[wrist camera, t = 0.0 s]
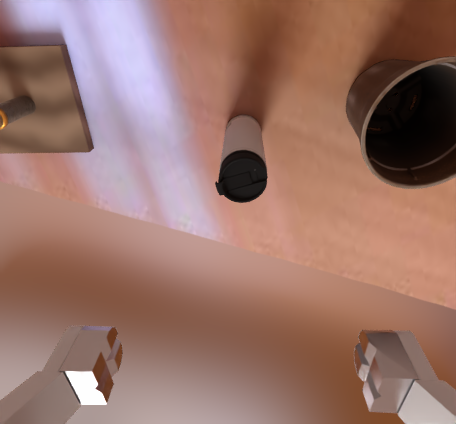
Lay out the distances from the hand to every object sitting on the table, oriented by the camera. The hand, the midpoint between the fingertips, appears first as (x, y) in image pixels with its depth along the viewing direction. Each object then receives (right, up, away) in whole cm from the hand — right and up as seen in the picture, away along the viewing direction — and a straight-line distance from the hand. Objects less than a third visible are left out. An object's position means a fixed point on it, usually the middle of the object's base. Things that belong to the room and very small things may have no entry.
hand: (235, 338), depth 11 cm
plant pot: (+25, +23, +41) cm, 54 cm away
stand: (-34, +23, +44) cm, 60 cm away
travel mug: (+2, +18, +45) cm, 49 cm away
